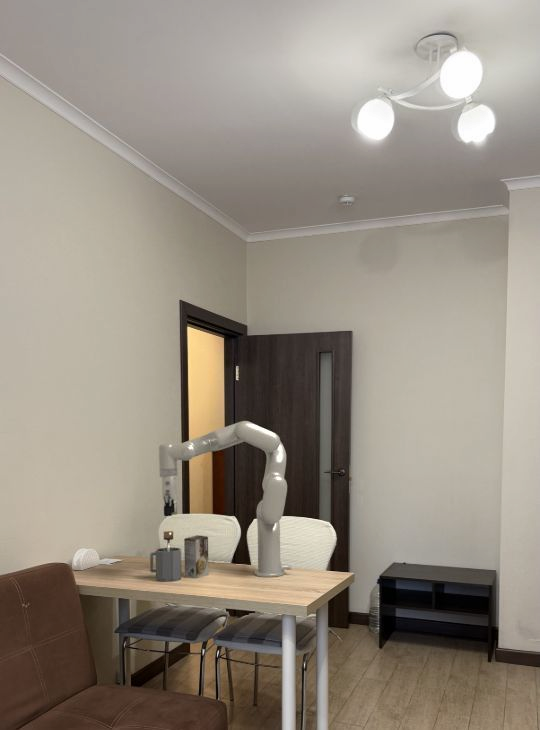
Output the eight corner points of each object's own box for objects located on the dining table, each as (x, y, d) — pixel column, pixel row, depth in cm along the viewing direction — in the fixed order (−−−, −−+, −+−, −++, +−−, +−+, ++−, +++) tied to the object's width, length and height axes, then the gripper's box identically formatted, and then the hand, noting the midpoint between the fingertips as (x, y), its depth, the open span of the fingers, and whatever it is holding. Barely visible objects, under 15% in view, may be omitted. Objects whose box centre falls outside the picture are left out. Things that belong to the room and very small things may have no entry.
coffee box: (196, 573, 299) (196, 535, 300) (209, 574, 296) (208, 536, 297) (183, 577, 291) (183, 538, 293) (196, 578, 288) (195, 539, 289)
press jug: (182, 576, 293) (182, 547, 294) (179, 581, 283) (179, 551, 284) (152, 576, 293) (152, 547, 294) (148, 582, 283) (148, 552, 284)
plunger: (179, 570, 292) (179, 530, 294) (177, 574, 284) (177, 533, 286) (160, 570, 292) (160, 530, 294) (157, 574, 284) (157, 533, 286)
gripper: (175, 474, 283) (176, 516, 282) (179, 471, 301) (180, 511, 299) (156, 474, 283) (157, 517, 282) (162, 472, 300) (163, 512, 299)
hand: (169, 514), depth 291 cm, fingers open, 9 cm apart
